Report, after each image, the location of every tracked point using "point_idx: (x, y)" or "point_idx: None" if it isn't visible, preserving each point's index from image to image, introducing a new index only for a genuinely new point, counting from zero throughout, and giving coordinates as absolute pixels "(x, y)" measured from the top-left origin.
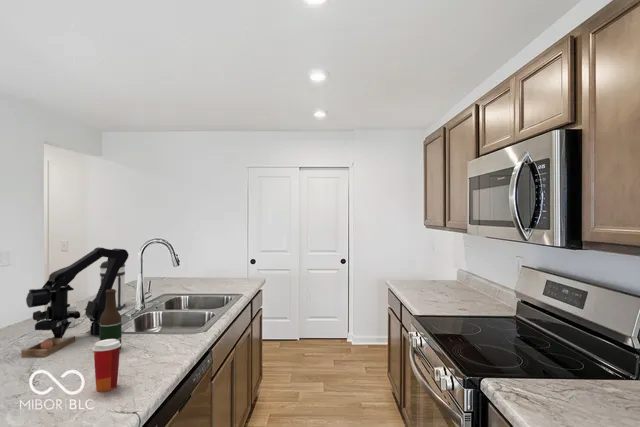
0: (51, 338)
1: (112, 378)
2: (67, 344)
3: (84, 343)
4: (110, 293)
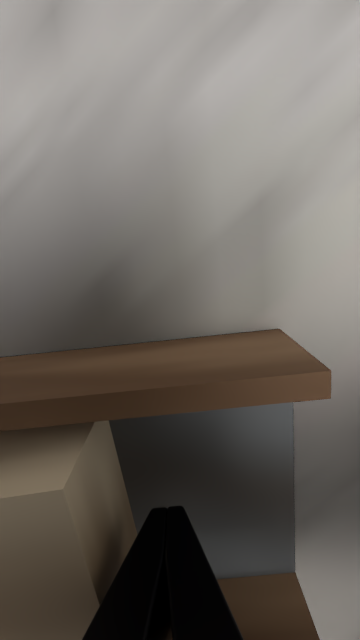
0: (54, 556)
1: None
2: None
3: None
4: None
